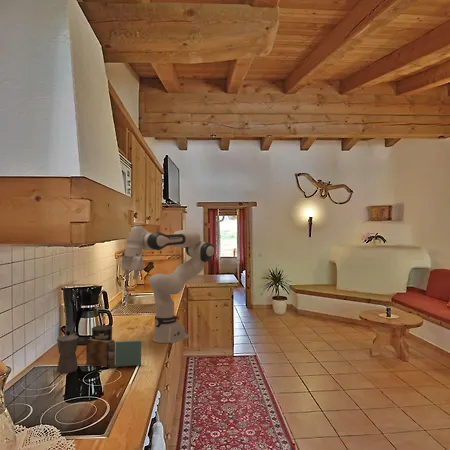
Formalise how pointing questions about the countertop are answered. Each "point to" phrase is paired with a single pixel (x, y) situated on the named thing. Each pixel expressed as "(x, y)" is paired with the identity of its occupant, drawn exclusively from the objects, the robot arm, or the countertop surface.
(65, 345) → the coffeepot
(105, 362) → the dark wooden block
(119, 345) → the teal flat block
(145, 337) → the countertop surface
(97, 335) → the coffee can
